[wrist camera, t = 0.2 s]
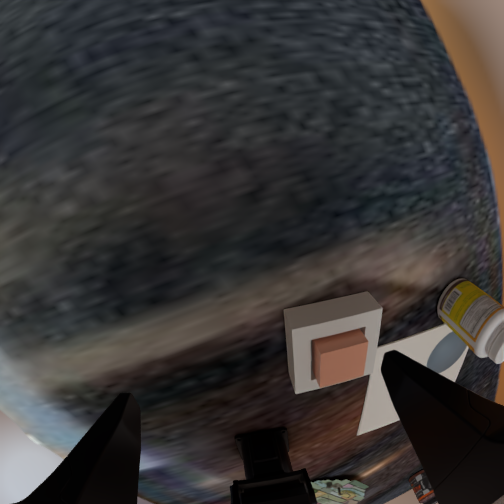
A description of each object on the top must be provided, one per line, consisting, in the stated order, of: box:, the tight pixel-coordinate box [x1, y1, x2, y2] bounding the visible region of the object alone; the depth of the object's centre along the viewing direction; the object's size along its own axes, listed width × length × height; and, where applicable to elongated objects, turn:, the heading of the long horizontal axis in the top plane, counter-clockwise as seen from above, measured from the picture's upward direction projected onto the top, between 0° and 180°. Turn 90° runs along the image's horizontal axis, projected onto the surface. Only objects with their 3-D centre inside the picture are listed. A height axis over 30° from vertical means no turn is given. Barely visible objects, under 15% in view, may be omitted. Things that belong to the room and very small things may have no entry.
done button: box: [312, 328, 368, 388], centre depth 25 cm, size 4×4×2 cm
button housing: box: [284, 291, 382, 394], centre depth 26 cm, size 8×8×3 cm
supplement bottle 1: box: [409, 469, 438, 504], centre depth 48 cm, size 6×6×11 cm
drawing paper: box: [357, 323, 469, 435], centre depth 33 cm, size 18×17×1 cm
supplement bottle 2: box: [437, 278, 504, 364], centre depth 24 cm, size 6×6×10 cm
